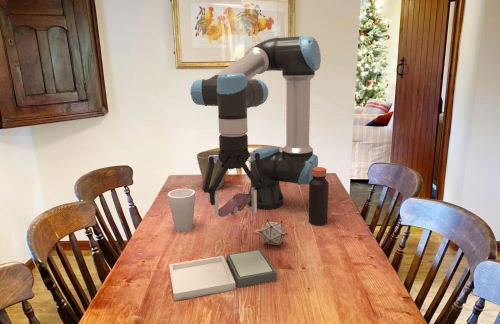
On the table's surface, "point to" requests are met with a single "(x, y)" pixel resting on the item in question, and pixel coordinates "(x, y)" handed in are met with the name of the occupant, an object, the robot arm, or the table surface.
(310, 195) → the bottle
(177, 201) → the foam cup
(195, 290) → the tray
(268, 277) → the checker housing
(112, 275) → the table surface
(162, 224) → the table surface
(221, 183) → the plant pot
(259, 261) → the pale green flat panel
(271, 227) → the game die
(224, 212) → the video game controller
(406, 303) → the table surface
